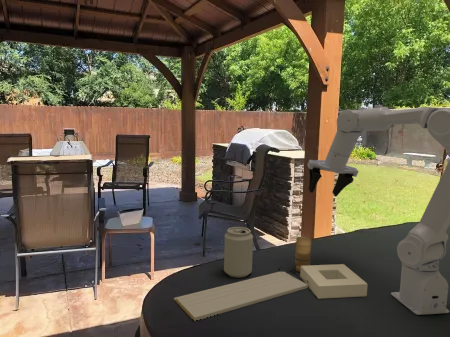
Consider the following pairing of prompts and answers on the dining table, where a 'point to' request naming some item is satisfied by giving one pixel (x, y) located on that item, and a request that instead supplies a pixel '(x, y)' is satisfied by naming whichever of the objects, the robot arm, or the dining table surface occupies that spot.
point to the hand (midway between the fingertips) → (322, 192)
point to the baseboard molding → (239, 294)
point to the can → (238, 252)
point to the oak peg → (302, 252)
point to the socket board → (333, 281)
